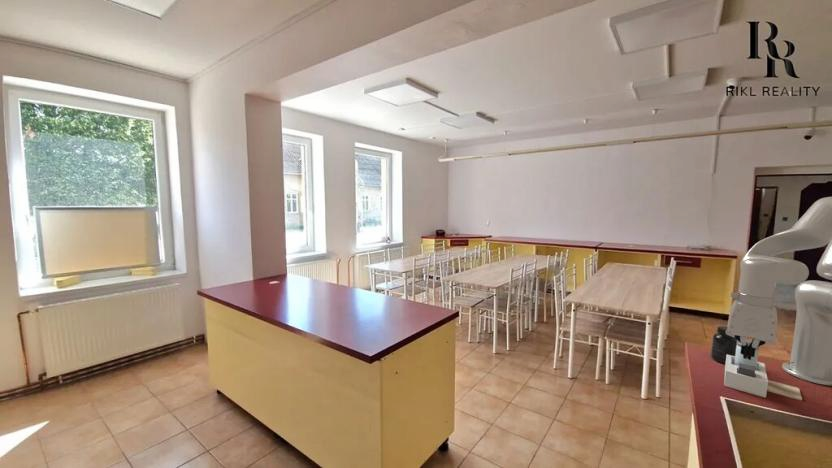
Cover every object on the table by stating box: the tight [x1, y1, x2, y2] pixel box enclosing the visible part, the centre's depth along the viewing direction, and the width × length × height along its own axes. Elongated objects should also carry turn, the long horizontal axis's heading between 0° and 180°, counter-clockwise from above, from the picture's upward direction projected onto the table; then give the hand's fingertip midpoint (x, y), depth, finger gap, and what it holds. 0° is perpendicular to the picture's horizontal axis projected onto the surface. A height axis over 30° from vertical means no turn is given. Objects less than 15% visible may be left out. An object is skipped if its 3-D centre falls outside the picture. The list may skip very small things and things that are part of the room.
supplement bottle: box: [710, 325, 737, 365], centre depth 117 cm, size 7×7×12 cm
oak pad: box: [767, 379, 803, 401], centre depth 100 cm, size 7×7×1 cm
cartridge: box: [734, 339, 760, 370], centre depth 106 cm, size 5×5×12 cm
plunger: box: [738, 363, 755, 377], centre depth 101 cm, size 3×3×4 cm
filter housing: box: [723, 354, 769, 399], centre depth 105 cm, size 14×9×5 cm, turn 136°
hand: (746, 357), depth 100 cm, fingers closed
